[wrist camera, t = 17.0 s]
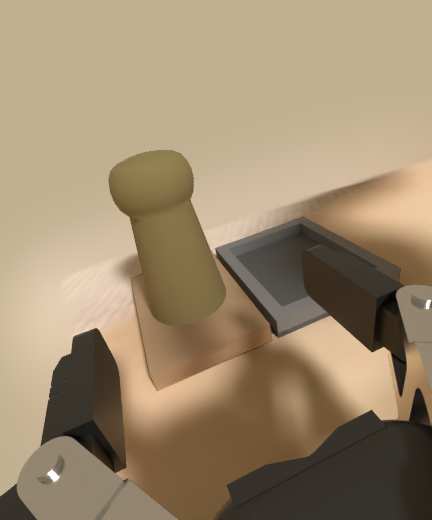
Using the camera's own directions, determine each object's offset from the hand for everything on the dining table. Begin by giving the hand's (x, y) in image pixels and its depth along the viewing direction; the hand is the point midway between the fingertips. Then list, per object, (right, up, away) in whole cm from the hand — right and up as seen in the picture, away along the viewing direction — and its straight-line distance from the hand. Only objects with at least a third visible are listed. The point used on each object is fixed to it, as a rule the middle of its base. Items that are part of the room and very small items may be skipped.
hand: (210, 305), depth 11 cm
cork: (-2, -1, +12) cm, 13 cm away
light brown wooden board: (-2, -3, +13) cm, 13 cm away
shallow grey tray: (+7, +1, +15) cm, 17 cm away
